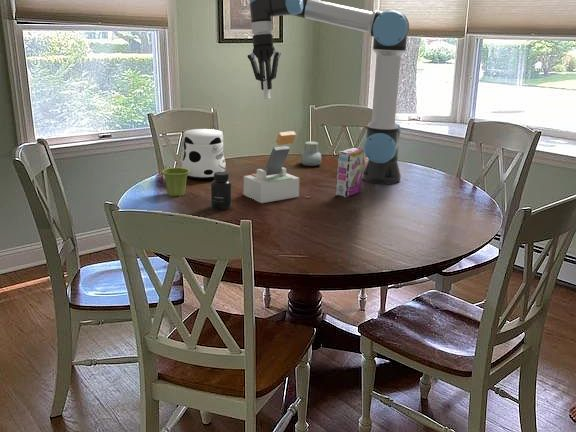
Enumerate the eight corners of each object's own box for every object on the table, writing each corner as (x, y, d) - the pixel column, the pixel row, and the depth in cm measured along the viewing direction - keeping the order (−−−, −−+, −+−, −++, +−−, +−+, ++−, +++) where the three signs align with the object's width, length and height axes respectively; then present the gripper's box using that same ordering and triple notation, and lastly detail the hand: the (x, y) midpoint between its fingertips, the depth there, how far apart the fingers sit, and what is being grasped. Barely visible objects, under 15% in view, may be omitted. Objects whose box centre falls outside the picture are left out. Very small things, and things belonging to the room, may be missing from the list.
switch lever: (262, 173, 211) (278, 132, 198) (277, 171, 215) (294, 131, 202) (264, 177, 210) (281, 136, 198) (279, 174, 214) (296, 134, 201)
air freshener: (299, 162, 268) (300, 140, 265) (318, 162, 269) (318, 140, 266) (303, 167, 258) (303, 145, 255) (321, 167, 259) (322, 145, 256)
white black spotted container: (233, 178, 237) (233, 133, 231) (193, 184, 228) (192, 137, 222) (213, 169, 251) (212, 127, 245) (175, 174, 241) (173, 130, 236)
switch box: (243, 194, 215) (243, 167, 212) (280, 188, 224) (280, 163, 221) (261, 203, 206) (261, 175, 203) (298, 196, 214) (299, 169, 211)
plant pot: (194, 192, 216) (194, 169, 213) (179, 199, 208) (179, 175, 205) (173, 189, 220) (172, 166, 217) (157, 195, 212) (156, 171, 209)
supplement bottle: (215, 211, 195) (214, 176, 192) (208, 206, 201) (207, 171, 197) (234, 209, 198) (234, 174, 195) (227, 203, 204) (226, 170, 200)
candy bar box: (347, 198, 214) (349, 153, 209) (335, 195, 217) (337, 151, 212) (361, 191, 223) (364, 148, 218) (350, 189, 226) (352, 147, 221)
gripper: (282, 33, 223) (286, 97, 228) (250, 36, 227) (255, 99, 232) (275, 31, 216) (280, 97, 221) (242, 35, 220) (247, 100, 225)
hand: (267, 98), depth 226 cm, fingers closed
